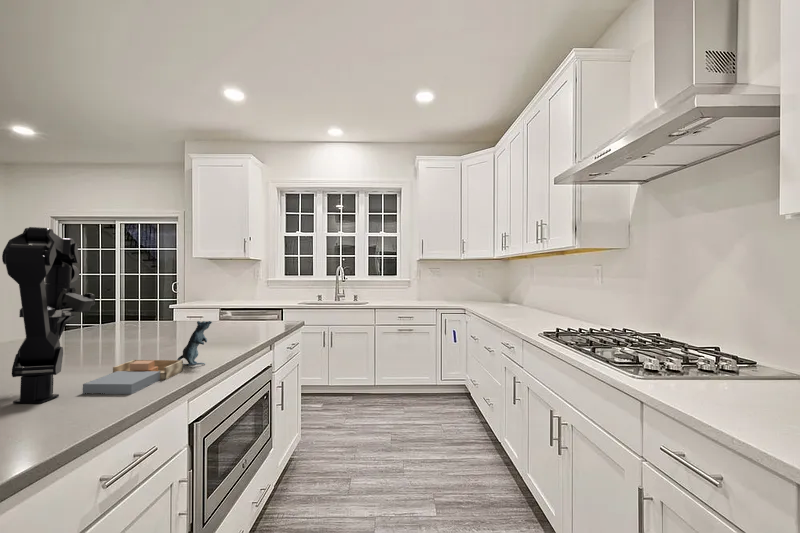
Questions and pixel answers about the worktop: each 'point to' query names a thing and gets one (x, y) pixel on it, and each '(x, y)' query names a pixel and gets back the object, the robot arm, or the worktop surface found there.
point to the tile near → (142, 365)
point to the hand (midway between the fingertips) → (55, 341)
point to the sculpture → (195, 343)
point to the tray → (164, 366)
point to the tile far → (152, 369)
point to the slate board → (122, 382)
